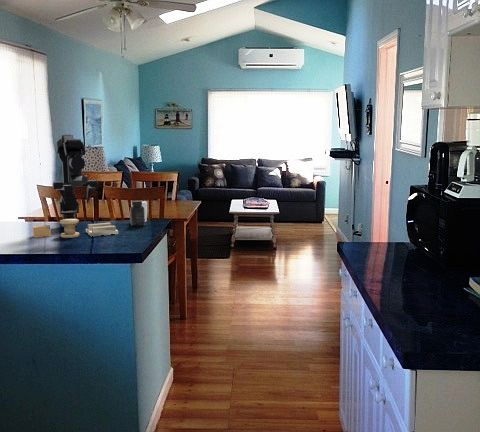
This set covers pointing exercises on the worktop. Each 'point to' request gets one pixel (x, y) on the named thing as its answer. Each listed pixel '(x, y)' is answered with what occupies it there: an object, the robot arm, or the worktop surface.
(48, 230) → the tan rectangular block
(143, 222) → the supplement bottle
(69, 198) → the robot arm
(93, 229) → the notched board
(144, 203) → the white cup
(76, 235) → the bobbin
